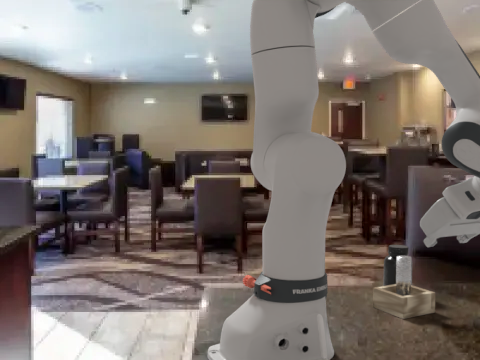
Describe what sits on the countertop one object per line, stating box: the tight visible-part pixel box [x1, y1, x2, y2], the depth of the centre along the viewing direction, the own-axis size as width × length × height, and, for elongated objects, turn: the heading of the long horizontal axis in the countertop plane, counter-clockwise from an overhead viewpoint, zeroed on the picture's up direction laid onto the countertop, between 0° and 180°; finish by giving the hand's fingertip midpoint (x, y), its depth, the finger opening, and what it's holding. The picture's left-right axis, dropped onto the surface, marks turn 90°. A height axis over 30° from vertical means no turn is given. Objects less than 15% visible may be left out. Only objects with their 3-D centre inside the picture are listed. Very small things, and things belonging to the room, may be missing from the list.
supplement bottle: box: [382, 244, 413, 286], centre depth 129 cm, size 7×7×12 cm
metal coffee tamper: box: [396, 255, 412, 296], centre depth 116 cm, size 5×5×11 cm
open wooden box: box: [372, 284, 436, 320], centre depth 116 cm, size 9×9×4 cm
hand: (444, 242), depth 106 cm, fingers open, 8 cm apart
